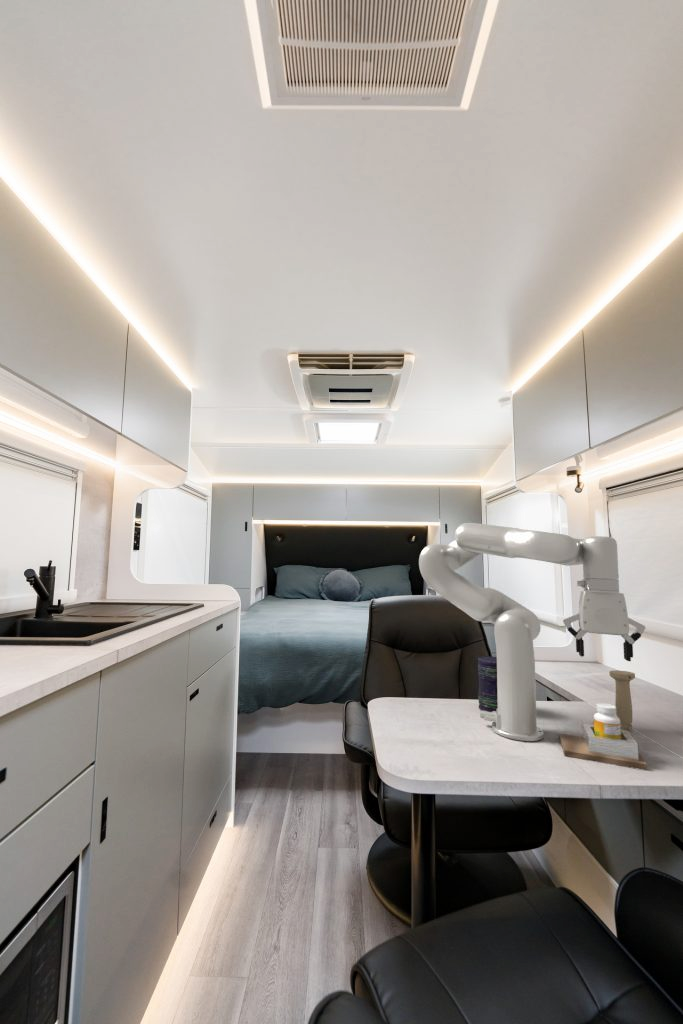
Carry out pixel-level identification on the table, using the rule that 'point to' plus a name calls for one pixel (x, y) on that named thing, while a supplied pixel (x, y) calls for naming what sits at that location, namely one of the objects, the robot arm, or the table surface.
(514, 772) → the table surface
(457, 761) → the table surface
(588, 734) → the socket
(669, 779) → the table surface
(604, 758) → the mount plate
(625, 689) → the handle
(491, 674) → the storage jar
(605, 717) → the supplement bottle
